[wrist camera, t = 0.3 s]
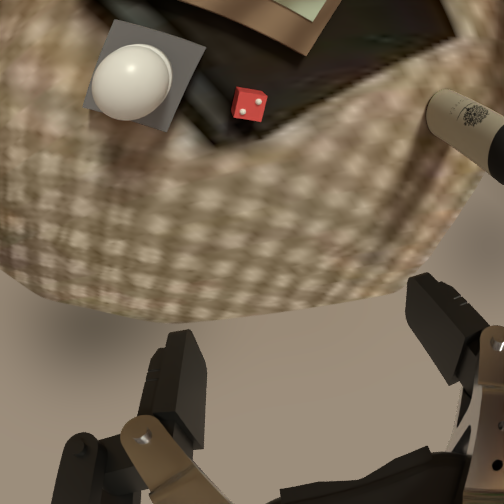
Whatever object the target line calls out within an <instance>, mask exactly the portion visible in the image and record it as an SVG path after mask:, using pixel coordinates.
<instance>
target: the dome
mask: <svg viewBox="0 0 504 504" xmlns="http://www.w3.org/2000/svg"><path fill="white" fill-rule="evenodd" d="M172 80H173V70H172V66H171V63H170V61H169V59H168V58H167V56H166V55H165V54H164V53H163V52H162V51H161V50H159V49H158V48H156V47H154V46H151V45H147V44H134V45H128V46H124V47H122V48H119V49H117V50H116V51H114V52H112V53H111V54H109V55H108V56H107V57H106V58H105V59H104V60H103V61H102V62H101V63H100V64H99V66H98V67H97V69H96V71H95V73H94V76H93V80H92V95H93V98H94V101H95V103H96V105H97V106H98V108H99V109H100V110H101V111H102V112H103V113H104V114H106V115H107V116H109V117H111V118H114V119H117V120H124V121H129V120H135V119H139V118H142V117H144V116H146V115H148V114H150V113H151V112H152V111H154V110H155V109H156V108H157V107H158V106H159V105H160V104H161V103H162V102H163V100H164V99H165V98H166V96H167V94H168V92H169V90H170V87H171V85H172Z"/></svg>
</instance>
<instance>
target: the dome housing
mask: <svg viewBox="0 0 504 504" xmlns="http://www.w3.org/2000/svg"><path fill="white" fill-rule="evenodd" d="M134 44H147V45H151V46H154V47H156V48H158V49H159V50H161V51H162V52H163V53H164V54H165V55H166V56H167V58H168V59H169V61H170V63H171V66H172V70H173V80H172V85H171V87H170V90H169V92H168V94H167V96H166V98H165V99H164V100H163V102H162V103H161V104H160V105H159V106H158V107H157V108H156V109H155V110H154V111H152V112H151V113H150V114H148V115H146V116H144V117H142V118H139V119H135V120H129V121H133V122H136V123H139V124H142V125H145V126H149V127H152V128H155V129H158V130H161V131H164V132H167V131H168V128H169V126H170V123H171V121H172V119H173V116H174V114H175V112H176V109H177V107H178V105H179V103H180V100H181V98H182V96H183V94H184V92H185V90H186V87H187V85H188V83H189V81H190V79H191V77H192V75H193V73H194V71H195V69H196V67H197V65H198V63H199V61H200V59H201V57H202V55H203V53H204V51H205V49H206V47H204V46H202V45H199V44H196V43H194V42H191V41H188V40H185V39H182V38H179V37H177V36H174V35H170V34H167V33H164V32H161V31H158V30H154V29H151V28H148V27H144V26H141V25H137V24H133V23H129V22H125V21H121V20H114V22H113V24H112V27H111V29H110V31H109V34H108V36H107V38H106V41H105V43H104V46H103V48H102V51H101V53H100V56H99V59H98V61H97V64H96V67H95V70H94V72H93V75H92V78H91V81H90V84H89V87H88V90H87V94H86V97H85V100H84V104H83V107H84V108H87V109H91V110H95V111H98V112H102V111H101V110H100V109H99V108H98V106H97V105H96V103H95V101H94V98H93V95H92V80H93V76H94V73H95V71H96V69H97V67H98V66H99V64H100V63H101V62H102V61H103V60H104V59H105V58H106V57H107V56H108V55H109V54H111V53H112V52H114V51H116V50H117V49H119V48H122V47H124V46H128V45H134ZM102 113H103V112H102Z"/></svg>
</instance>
